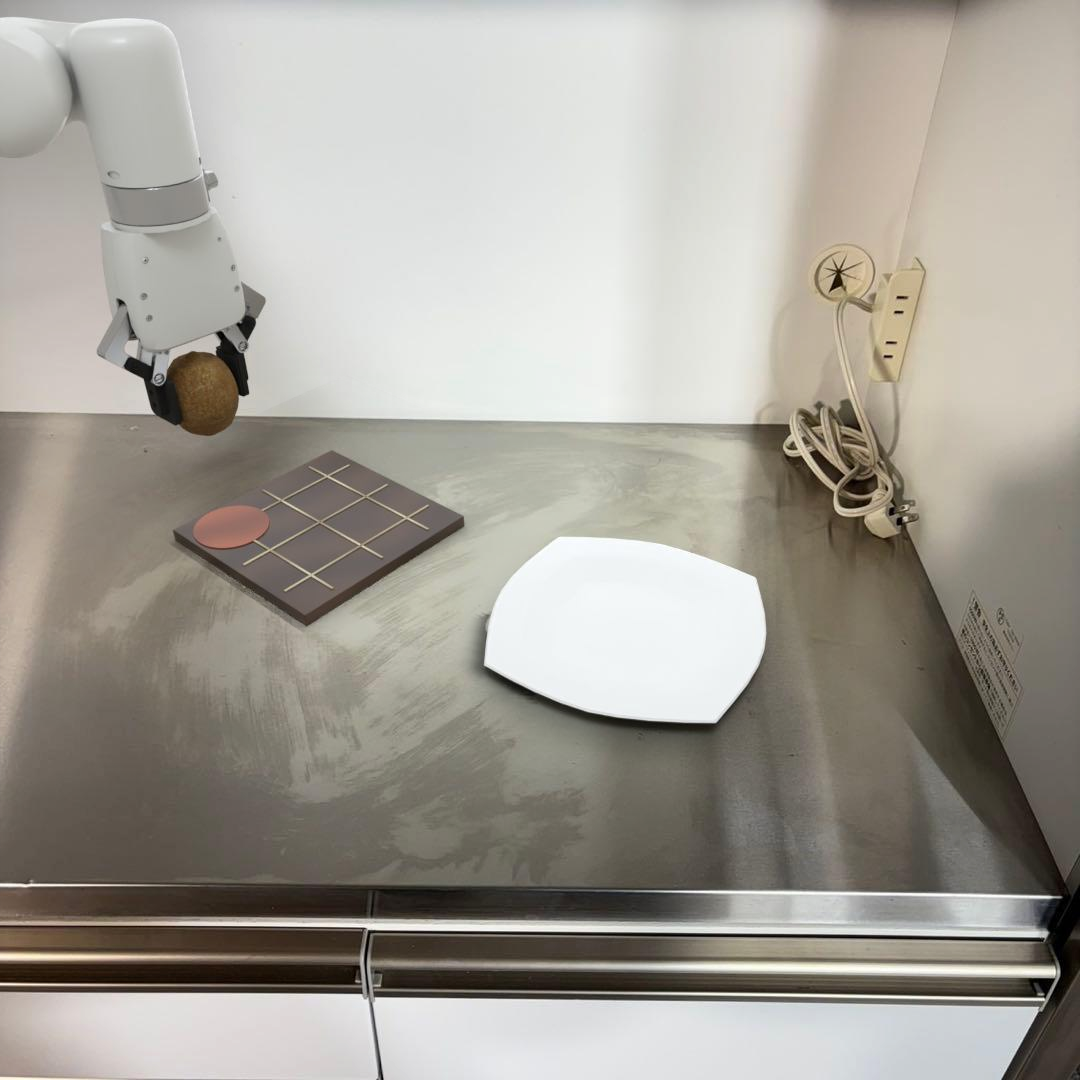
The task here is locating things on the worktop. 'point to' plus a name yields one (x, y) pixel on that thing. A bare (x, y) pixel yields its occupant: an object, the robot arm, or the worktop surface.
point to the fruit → (204, 392)
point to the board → (318, 534)
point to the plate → (628, 630)
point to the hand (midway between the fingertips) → (203, 403)
